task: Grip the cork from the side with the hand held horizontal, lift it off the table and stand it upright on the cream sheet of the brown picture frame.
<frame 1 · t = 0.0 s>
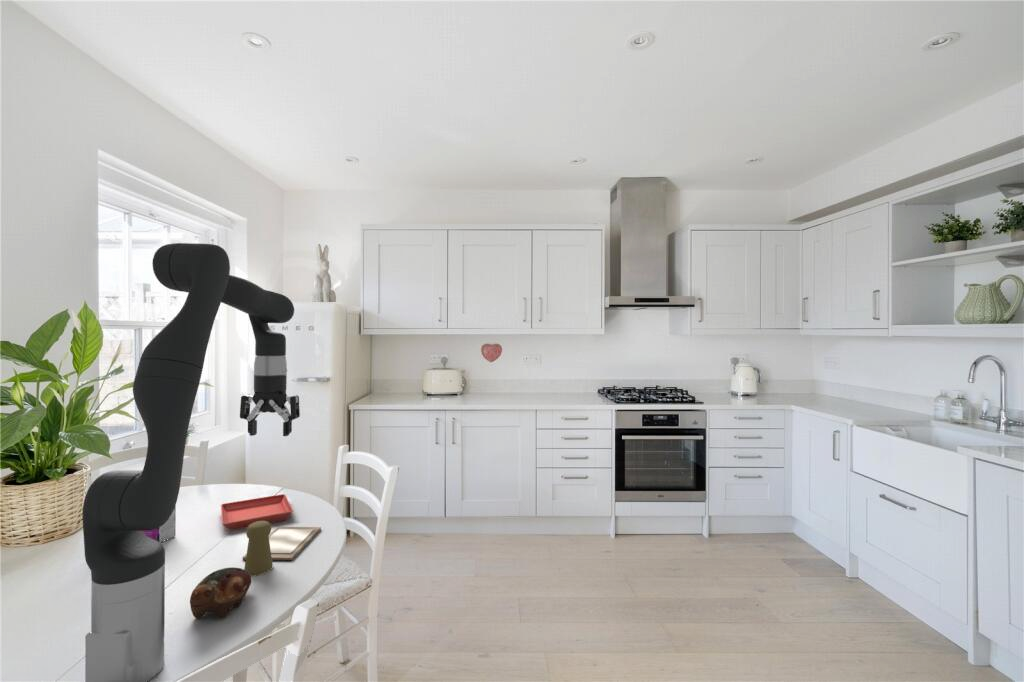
hand: (269, 435, 120), 29 cm above the table, tool pointing down, fingers open, 8 cm apart
candy bar box: (151, 538, 125), on the table
cork: (258, 569, 109), on the table
plant saucer: (256, 518, 140), on the table
brown lumpy oval piece: (221, 610, 93), on the table
brown picture frame: (284, 544, 122), on the table
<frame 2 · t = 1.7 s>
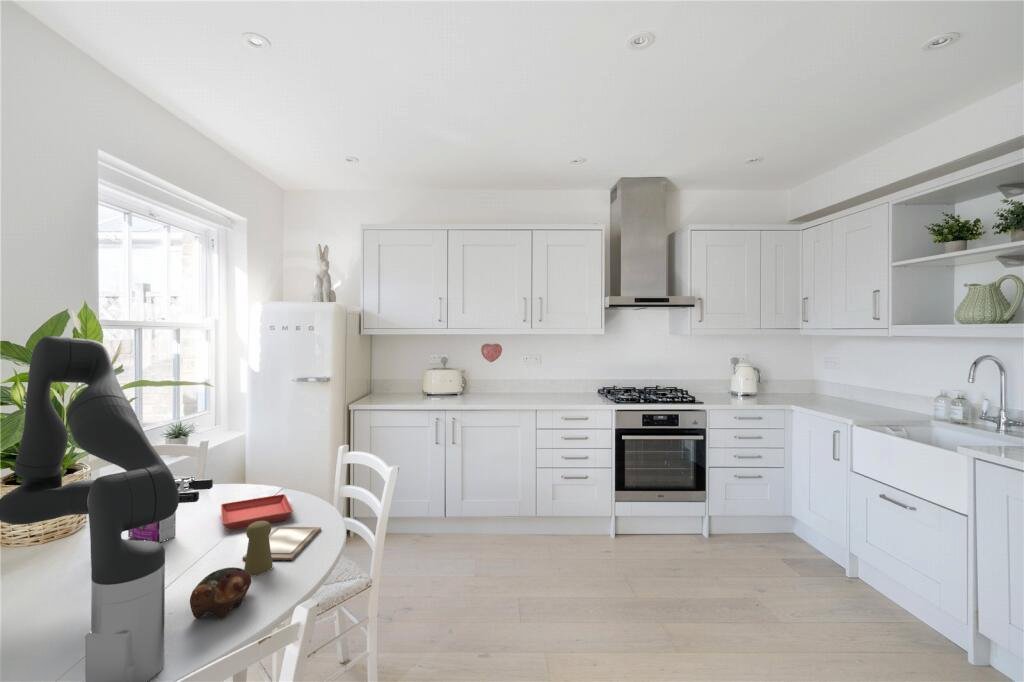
hand: (205, 489, 106), 20 cm above the table, tool horizontal, fingers open, 8 cm apart
nothing on the table moved.
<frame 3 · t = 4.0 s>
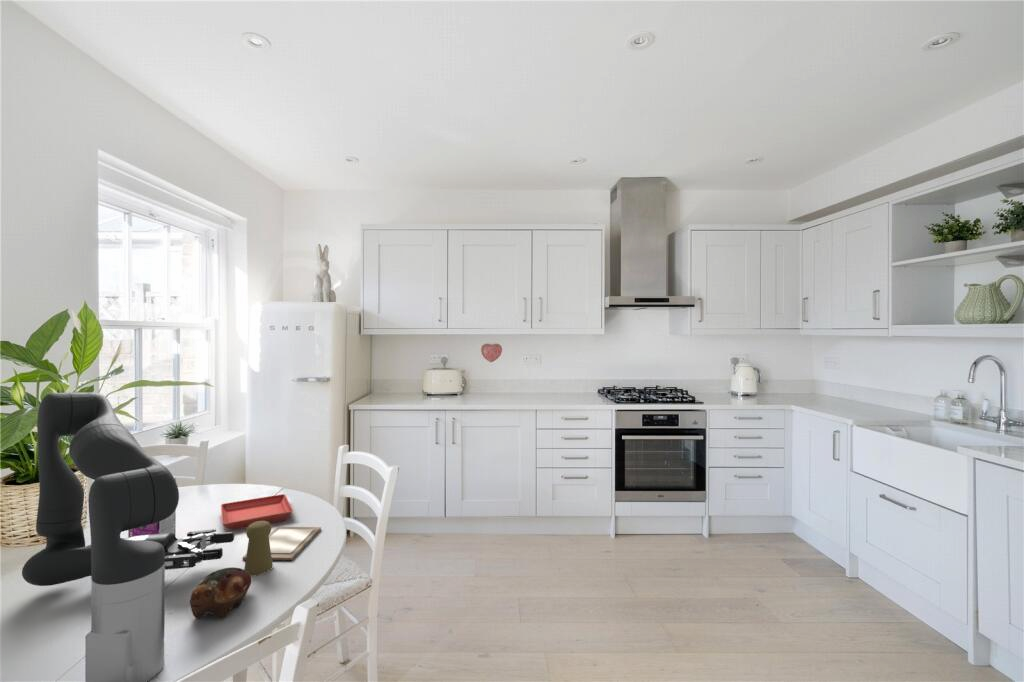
hand: (228, 544, 108), 7 cm above the table, tool horizontal, fingers open, 8 cm apart
nothing on the table moved.
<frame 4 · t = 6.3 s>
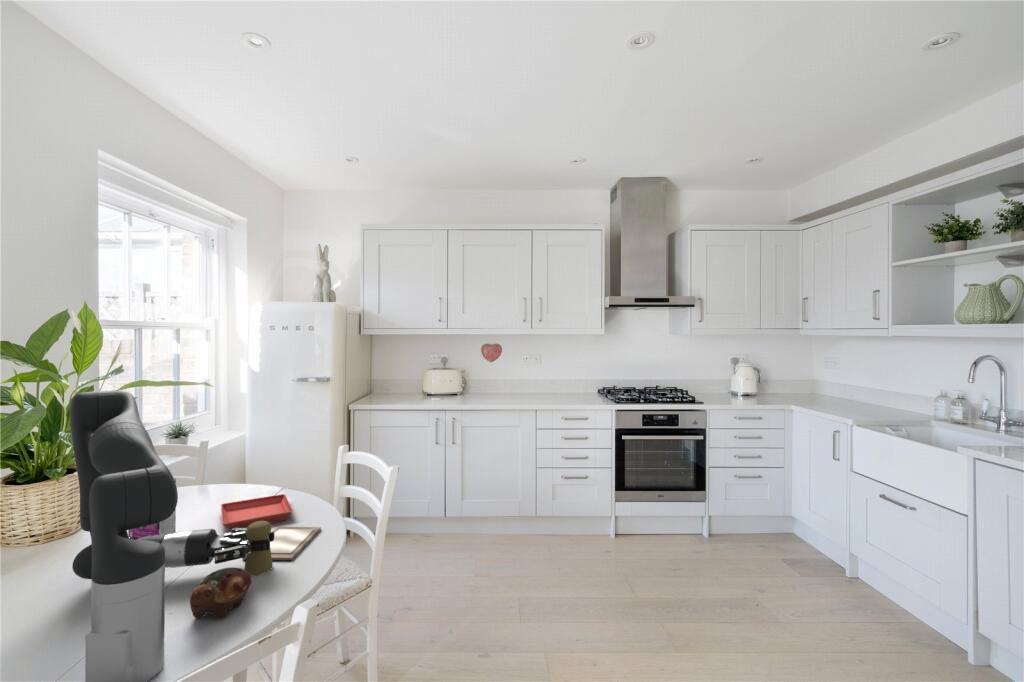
hand: (271, 540, 110), 7 cm above the table, tool horizontal, fingers closed on cork, 4 cm apart
cork: (258, 569, 109), on the table, touching gripper
everything else where it was.
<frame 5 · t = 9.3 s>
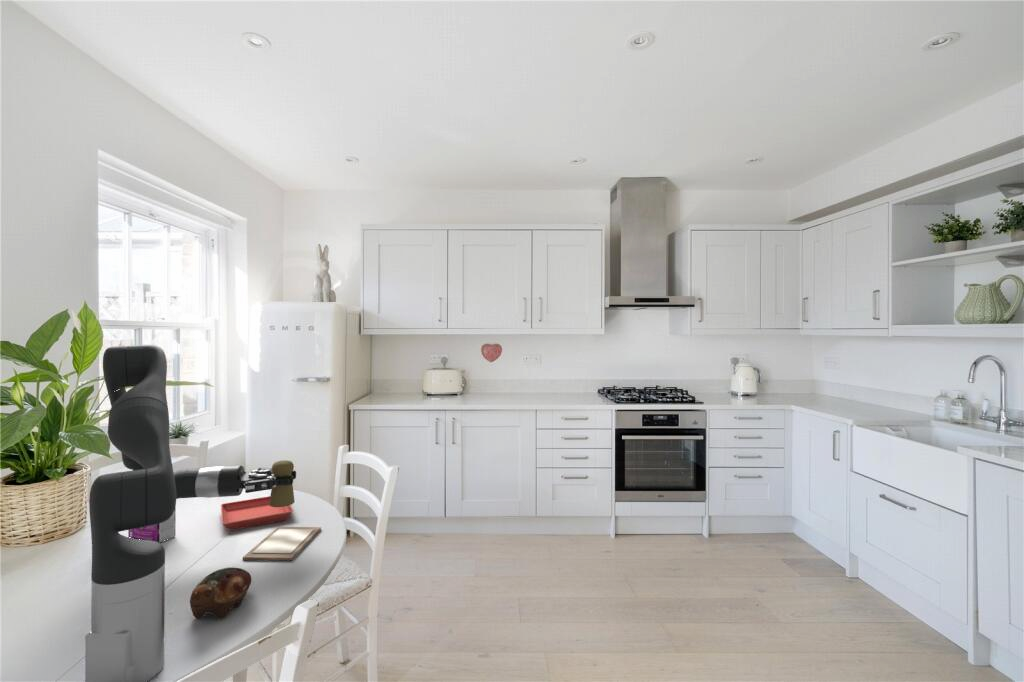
hand: (294, 477, 122), 18 cm above the table, tool horizontal, fingers closed on cork, 4 cm apart
cork: (281, 503, 121), point 11 cm above the table, touching gripper
everything else where it was.
when the fingers open (9 cm above the table, at t = 12.4 s): cork moves 3 cm, point 1 cm above the table.
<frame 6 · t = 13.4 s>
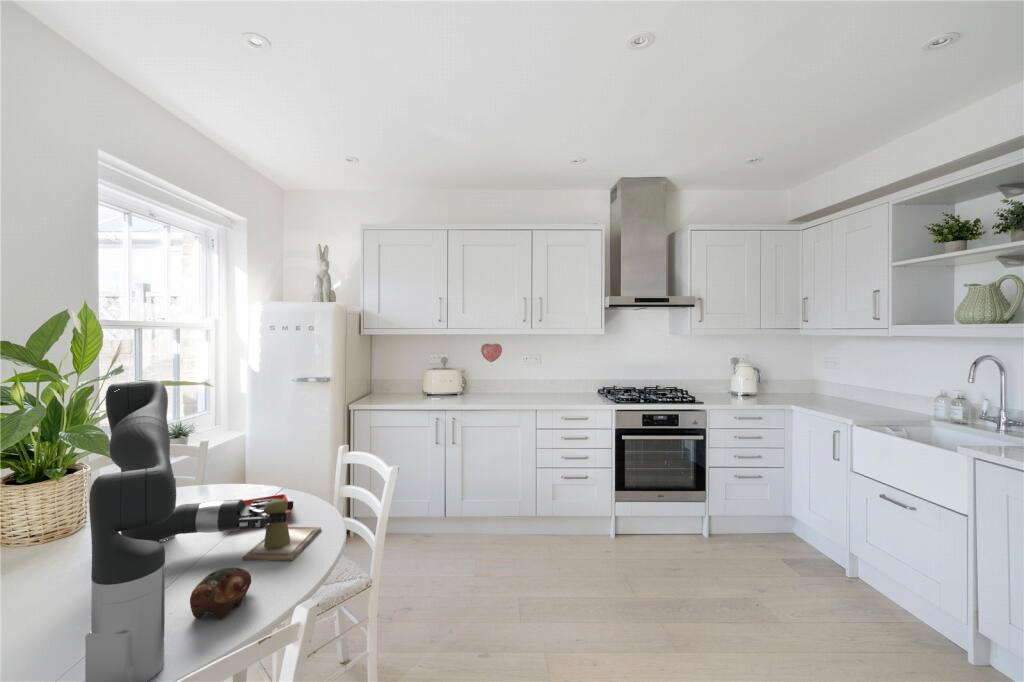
hand: (290, 510, 123), 9 cm above the table, tool horizontal, fingers open, 8 cm apart
cork: (277, 544, 119), point 1 cm above the table, touching gripper
everything else where it was.
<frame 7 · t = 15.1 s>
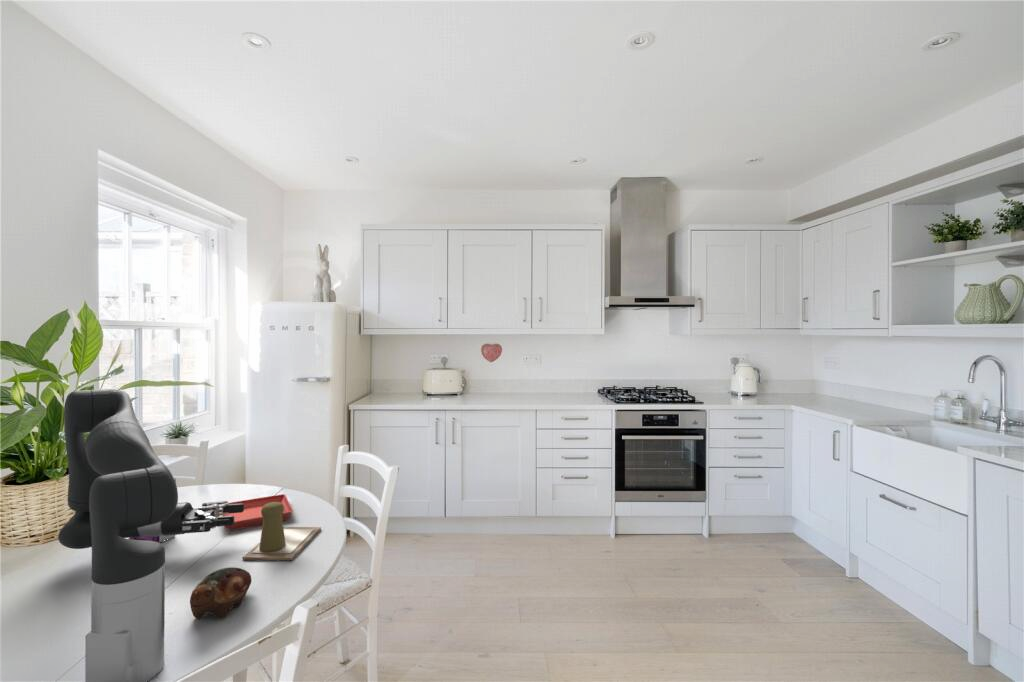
hand: (239, 513, 119), 9 cm above the table, tool horizontal, fingers open, 8 cm apart
cork: (272, 547, 118), point 1 cm above the table, touching brown picture frame
everything else where it was.
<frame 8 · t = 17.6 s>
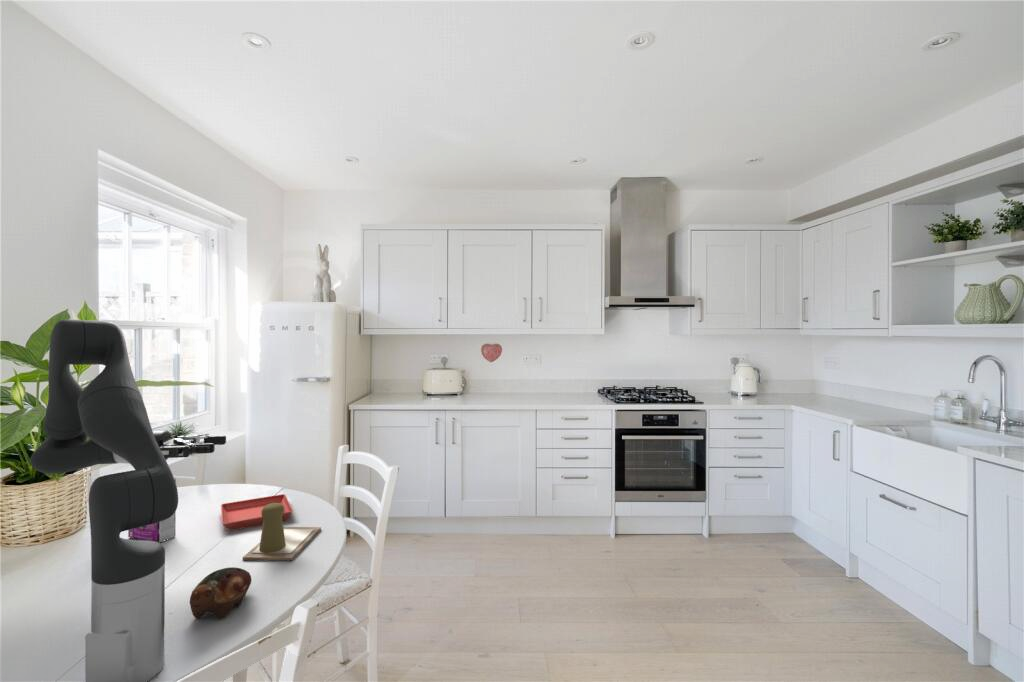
hand: (220, 443, 115), 28 cm above the table, tool horizontal, fingers open, 8 cm apart
nothing on the table moved.
at the end: cork inside the target area on the brown picture frame (4.2 cm from its centre), point 0.8 cm above the brown picture frame's base; cork tilted 0°; the gripper is holding nothing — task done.
